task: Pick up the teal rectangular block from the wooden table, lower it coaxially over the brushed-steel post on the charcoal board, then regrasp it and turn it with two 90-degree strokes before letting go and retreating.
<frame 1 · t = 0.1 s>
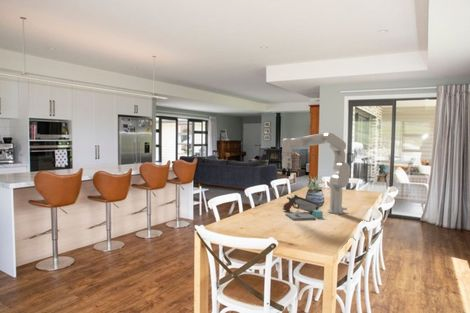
hand: (286, 175, 263), 31 cm above the table, fingers open, 9 cm apart
gun: (300, 212, 274), on the table
teal rectangular block: (317, 217, 258), on the table
board: (300, 217, 255), on the table
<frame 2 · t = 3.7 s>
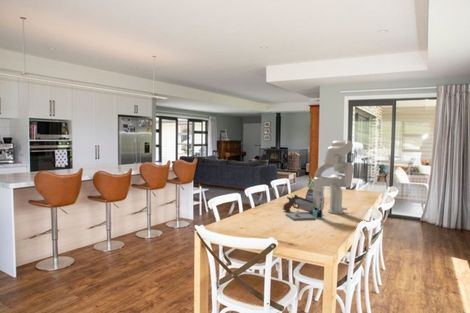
hand: (317, 216, 258), 1 cm above the table, fingers closed on teal rectangular block, 5 cm apart
teal rectangular block: (317, 217, 258), on the table, touching gripper
everything else where it was.
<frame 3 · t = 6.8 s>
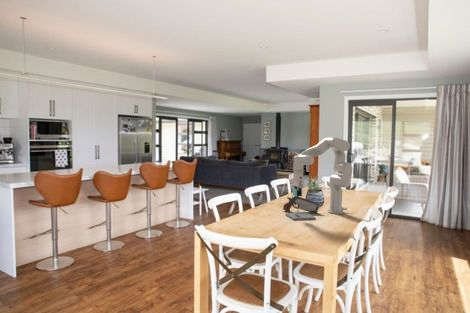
hand: (297, 194, 254), 18 cm above the table, fingers closed on teal rectangular block, 5 cm apart
teal rectangular block: (297, 195, 254), point 17 cm above the table, touching gripper
everything else where it was.
when the fingers open (3 cm above the table, at t = 10.1 s): teal rectangular block drops 1 cm, resting on board.
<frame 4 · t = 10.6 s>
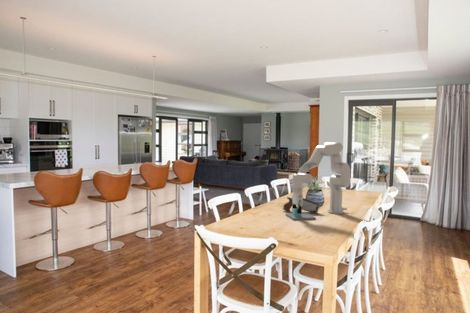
hand: (296, 212, 255), 4 cm above the table, fingers open, 9 cm apart
teal rectangular block: (296, 215, 255), point 1 cm above the table, touching board
everything else where it was.
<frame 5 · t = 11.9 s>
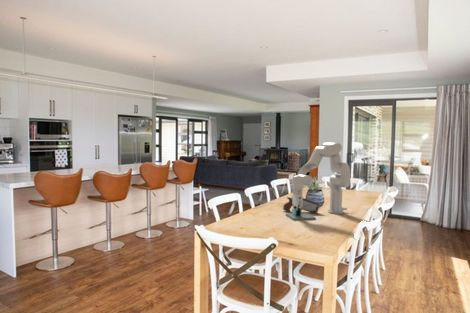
hand: (296, 214, 255), 2 cm above the table, fingers closed on teal rectangular block, 5 cm apart
teal rectangular block: (296, 215, 255), point 2 cm above the table, touching board, gripper
everything else where it was.
when the fingers open (2 cm above the table, at t = 13.7 s): teal rectangular block stays where it is, resting on board.
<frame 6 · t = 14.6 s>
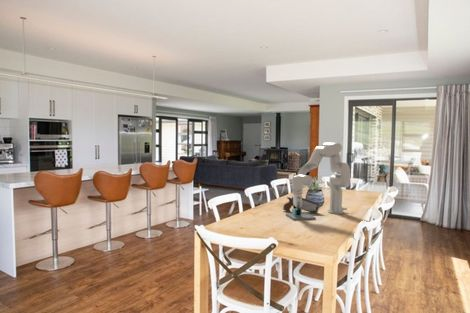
hand: (296, 213, 255), 3 cm above the table, fingers open, 9 cm apart
teal rectangular block: (296, 215, 255), point 1 cm above the table, touching board
everything else where it was.
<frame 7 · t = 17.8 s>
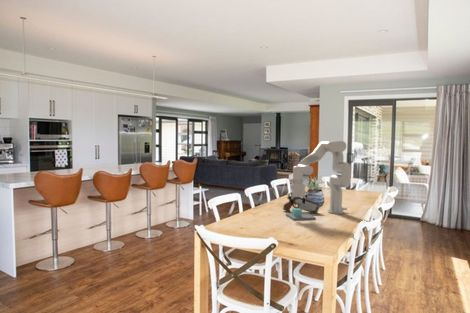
hand: (297, 203, 254), 11 cm above the table, fingers open, 9 cm apart
nothing on the table moved.
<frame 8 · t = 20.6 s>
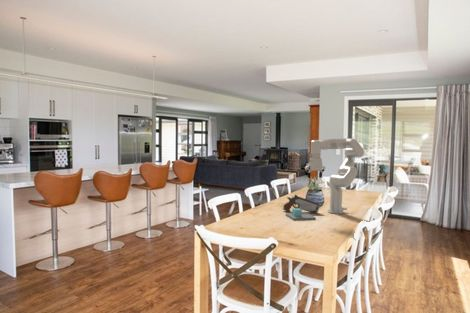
hand: (314, 177, 260), 30 cm above the table, fingers open, 9 cm apart
nothing on the table moved.
at the end: teal rectangular block 0.0 cm from the target spot on the board, point 1.5 cm above the board's base; teal rectangular block tilted 0°; teal rectangular block touching board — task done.
